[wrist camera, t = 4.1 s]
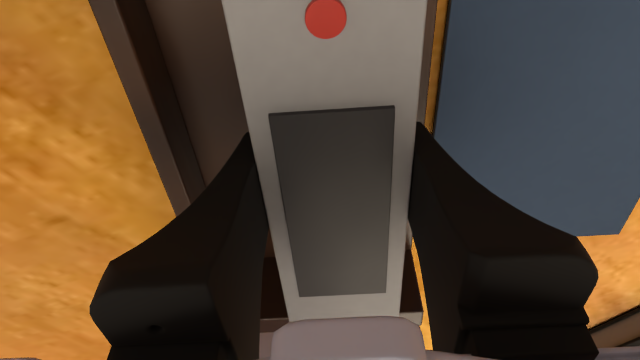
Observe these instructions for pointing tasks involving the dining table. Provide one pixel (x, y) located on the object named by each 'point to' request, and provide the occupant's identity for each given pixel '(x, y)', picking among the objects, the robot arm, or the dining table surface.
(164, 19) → the dark wooden tray
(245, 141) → the robot arm
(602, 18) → the desk mat
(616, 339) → the vhs tape
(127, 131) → the dining table surface
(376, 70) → the remote
